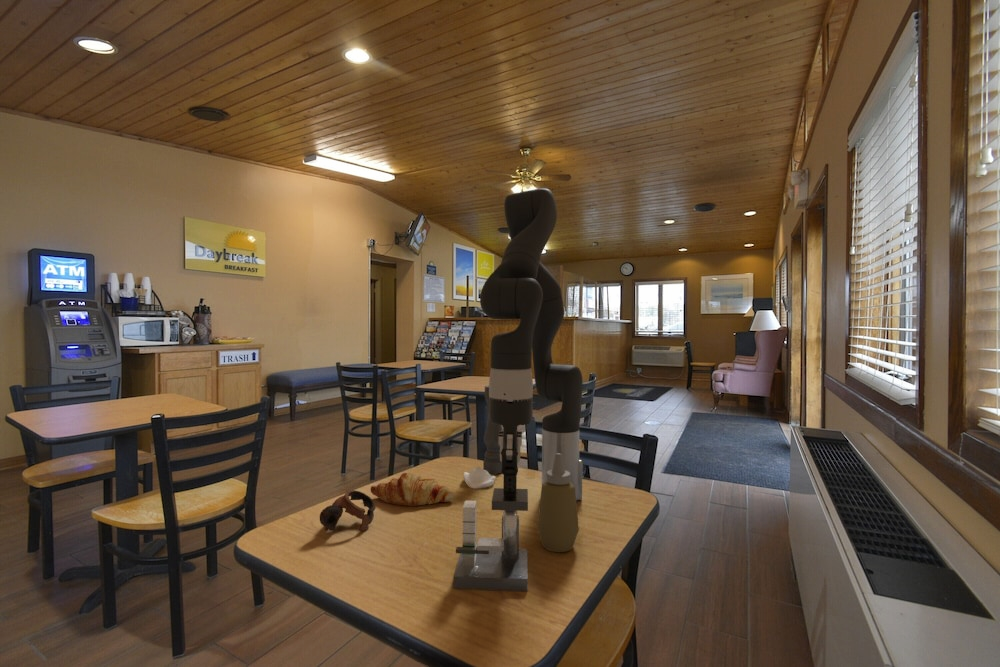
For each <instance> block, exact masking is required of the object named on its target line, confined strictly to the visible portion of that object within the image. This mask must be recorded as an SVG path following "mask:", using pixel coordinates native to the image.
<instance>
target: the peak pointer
mask: <svg viewBox="0 0 1000 667" xmlns="http://www.w3.org/2000/svg"><path fill="white" fill-rule="evenodd" d="M460 553H464V554H489V551H481V550H477V546H476V547H462V546H456V548H455V554H460Z"/></svg>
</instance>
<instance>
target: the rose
mask: <svg viewBox="0 0 1000 667" xmlns="http://www.w3.org/2000/svg"><path fill="white" fill-rule="evenodd" d="M496 478H497V476H495V475H494V474H489V473H488V472H487V471H486V470H484V469H483V468H482V467H481V466H480V467H479V466H477V467H474V468H473V469H470V470H469V472H467V471H464V472H463V480H464V482H465V484H466V485H467V486H468V487H469V488H471V489H474V490H477V489H478V490H479V489H483V488H484V489H485V488H489V487H492V486H493V485H494V484H495V480H496Z"/></svg>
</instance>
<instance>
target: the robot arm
mask: <svg viewBox="0 0 1000 667" xmlns="http://www.w3.org/2000/svg"><path fill="white" fill-rule="evenodd" d="M503 205H504V206H503V207H504V216H505V217H504V218H505V221H506V225H507V229H508V230H507V231H508V234H509V238H510V242H509V243H507V246H506V248H505V249H504V252H503V256H502V260H501V262H500V264H499V265H498V266H497V267H496V268H495V270H494V271H493V272H492V273H491V274H489V276H488V278H487V279H486V280H485V282H484V284H483V286H482V289H481V291H480V297H479V300H480V302H479V304H480V307H481V310H482V312H483V313H484V315H485V316H487V317H488V318H490V319H493V320H520V322H519V325H518V326H517V327H516V328H515V329H514V330H511V331H508V332H507V331H506V332H501V333H498V334H495V335H494V336H492V337H491V342H490V372H489V373H490V374H489V381H488V382H489V383H488V385H489V421H490V422H491V423H493V424H497V425H499V424H500V425H501V426H502V430H503V431H500V432H499V445H500V461H501V462H502V473H501V474H502V475H503V486H502V487H503V494H504V495H505V496H515V495H516V489H517V477H518V476H517V475H518V473H519V467H518V463H520V462H521V447H522V444H523V432H522V431H519V430H518V427H519V426H525V425H529V424H531V423H532V422H533V416H534V415H533V414H534V413H533V406H534V404H533V403H534V401H533V399H534V396H533V395H534V394H533V393H534V387H533V386H534V385H533V384H534V382H535V388H536V392H537V394H538V397H540V399H541V400H544V401H548V402H552V401H553V402H558V403H561V409H560V410H559V411H558V412H555V413H554V412H553V413H549V414H546V415H545V416H544V417H543V418H542V422H541V423H542V424H541V433H542V434H541V485H542V484H543V483H544V482H546V481H547V471H549V470H552V468H553V463H554V459H555V454H556V453H560V454H562V459H563V464H564V469H565V470H566V471H568V472H570V482H571V483H572V484H573V485H574V486H575V494H576V502H577V501H579V500H583V460H582V459H580V423H581V416H582V401H583V400H582V399H583V398H582V397H583V384H584V383H583V374H582V373H583V372H581V369H580V368H579V367H578V366H576V365H571V364H559V363H558V364H556V363H555V364H554V362H553V357H552V345H553V343H554V340H555V338H556V336H557V333H558V331H559V329H560V328H561V325H562V322H563V320H564V317H565V308H564V307H565V306H564V300H563V294H562V287H561V286H560V283H559V282H558V280H557V278H555V277H554V275H553V274H552V273H551V271H549V270H548V268H547V267H546V266H545V265H544V264H543V263H542V261H541V257H542V254H543V251H544V249H545V246H546V245H547V243H548V241H549V239H550V237H551V235H552V233H553V232H554V229H555V228H556V224H557V221H558V220H557V219H558V210H557V203H556V199H555V196H554V194H553V192H552V191H551V190H550V189H548V188H535V189H530V190H529V189H528V190H525V191H521V192H514V193H511V194H510V193H509V194H508V195H507V196H506V197H505V199H504V204H503ZM532 362H533V365H532ZM532 366H533V374H532ZM533 375H534V382H533Z"/></svg>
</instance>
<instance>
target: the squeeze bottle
mask: <svg viewBox="0 0 1000 667" xmlns="http://www.w3.org/2000/svg"><path fill="white" fill-rule="evenodd" d="M577 507H578V506H577V501H576V494H575V486H574V485H573V484H572V483H571V482H570V472H568V471H566V470H565V469H564V464H563V459H562V454H560V453H556V454H555V459H554V463H553V468H552V470H549V471H547V481H546V482H544V483H543V484H542V483H541V490H540V499H539V508H538V519H537V531H538V534H539V537H540V540H541V544H542V546H543V547H544V548H545V549H546V550H548V551H550V552H556V553H566V552H568V551H569V552H570V550H572V549H573V547H574V545H575V542H576V540H577V536H578V534H579V531H580V530H579V529H580V526H579V519H578V518H579V517H578V508H577Z"/></svg>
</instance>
